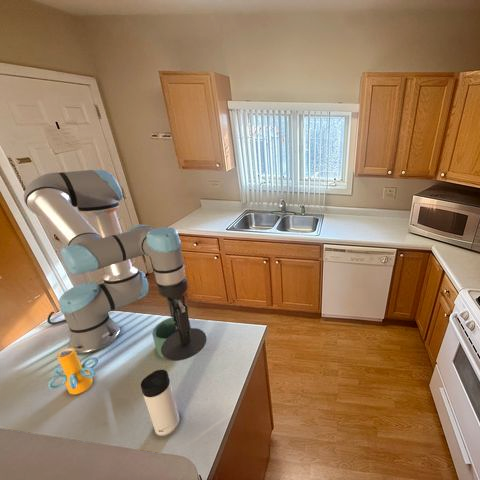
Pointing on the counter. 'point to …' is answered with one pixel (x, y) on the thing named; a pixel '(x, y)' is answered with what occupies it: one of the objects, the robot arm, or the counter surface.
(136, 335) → the counter surface
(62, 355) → the orange toy with loops
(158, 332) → the cup
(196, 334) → the lid
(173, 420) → the travel mug
